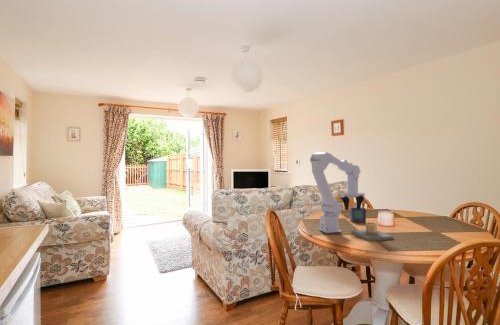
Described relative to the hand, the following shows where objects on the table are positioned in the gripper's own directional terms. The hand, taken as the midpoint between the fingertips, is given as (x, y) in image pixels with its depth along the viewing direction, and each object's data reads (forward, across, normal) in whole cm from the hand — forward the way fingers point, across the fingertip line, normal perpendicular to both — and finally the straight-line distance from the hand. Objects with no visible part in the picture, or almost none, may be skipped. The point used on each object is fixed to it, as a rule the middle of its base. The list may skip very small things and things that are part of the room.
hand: (352, 209), depth 162 cm
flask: (+11, +12, +12) cm, 20 cm away
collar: (+9, -2, -19) cm, 21 cm away
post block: (+10, -2, -19) cm, 22 cm away
